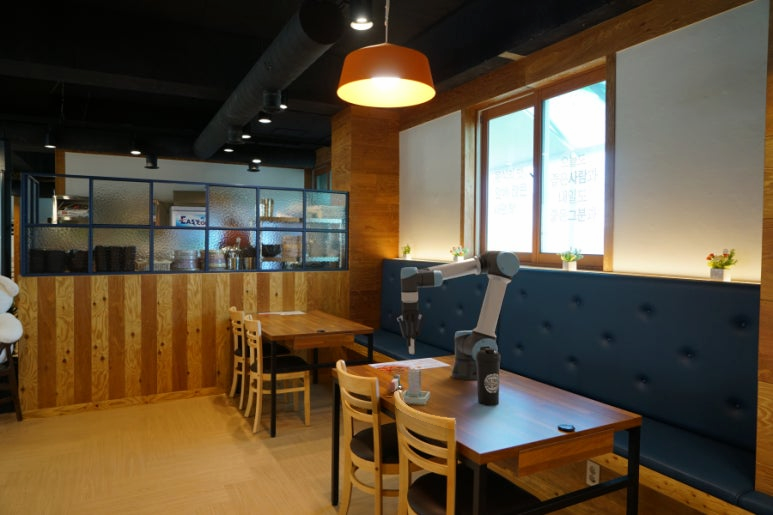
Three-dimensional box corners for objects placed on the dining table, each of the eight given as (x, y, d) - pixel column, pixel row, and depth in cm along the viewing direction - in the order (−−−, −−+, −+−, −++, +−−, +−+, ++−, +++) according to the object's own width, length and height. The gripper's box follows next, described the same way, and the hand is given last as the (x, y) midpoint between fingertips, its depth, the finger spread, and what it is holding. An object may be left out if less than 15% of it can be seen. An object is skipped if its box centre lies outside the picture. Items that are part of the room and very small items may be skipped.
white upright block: (410, 397, 221) (410, 369, 221) (421, 397, 220) (420, 369, 219) (408, 400, 216) (408, 371, 216) (419, 400, 215) (418, 372, 215)
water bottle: (482, 407, 208) (482, 350, 207) (471, 400, 217) (471, 346, 217) (505, 405, 210) (505, 349, 210) (493, 398, 220) (493, 344, 220)
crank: (394, 384, 239) (394, 374, 239) (400, 384, 239) (400, 374, 239) (388, 391, 227) (388, 381, 227) (395, 392, 226) (395, 381, 226)
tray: (405, 395, 225) (404, 390, 225) (429, 397, 222) (429, 391, 222) (399, 403, 214) (399, 397, 214) (425, 405, 211) (425, 398, 211)
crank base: (392, 386, 241) (391, 384, 241) (404, 386, 240) (404, 384, 240) (388, 389, 235) (388, 387, 235) (401, 390, 234) (401, 388, 234)
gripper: (419, 299, 239) (421, 350, 240) (393, 301, 235) (395, 353, 235) (426, 301, 232) (428, 353, 233) (399, 303, 227) (401, 356, 228)
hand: (411, 353), depth 234 cm, fingers closed
